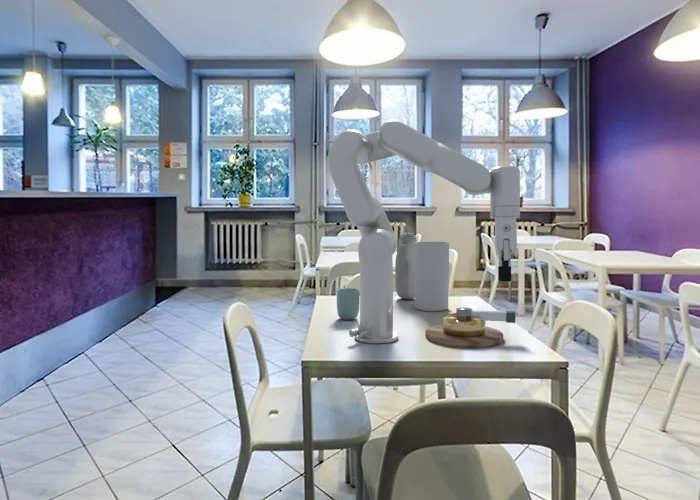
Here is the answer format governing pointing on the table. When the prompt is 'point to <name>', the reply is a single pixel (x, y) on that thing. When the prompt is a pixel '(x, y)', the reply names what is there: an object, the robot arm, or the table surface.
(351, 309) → the cup
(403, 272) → the glass bottle
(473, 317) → the grey lever
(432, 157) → the robot arm
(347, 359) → the table surface
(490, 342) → the lever base
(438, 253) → the cylinder vase
